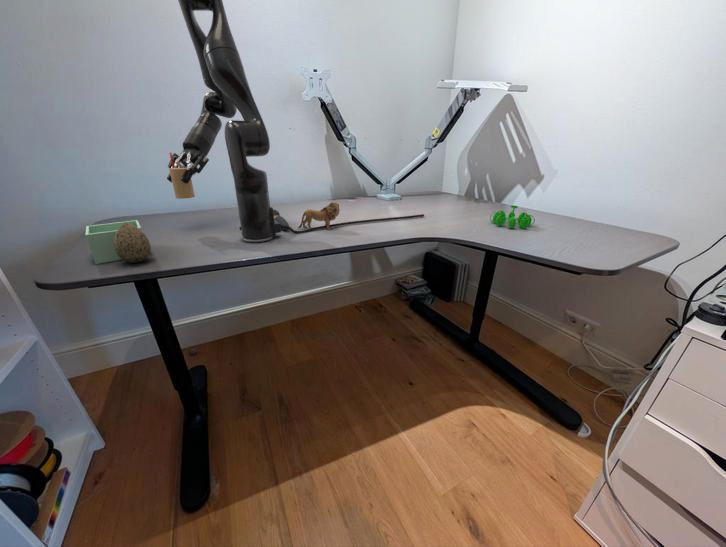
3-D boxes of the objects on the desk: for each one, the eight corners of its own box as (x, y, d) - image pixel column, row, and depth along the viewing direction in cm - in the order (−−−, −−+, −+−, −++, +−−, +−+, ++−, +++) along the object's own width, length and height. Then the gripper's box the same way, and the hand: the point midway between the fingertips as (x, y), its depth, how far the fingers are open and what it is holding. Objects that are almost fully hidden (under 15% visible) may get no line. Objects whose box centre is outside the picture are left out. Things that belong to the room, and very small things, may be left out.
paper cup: (198, 196, 104) (189, 152, 99) (184, 199, 99) (173, 152, 94) (186, 195, 106) (176, 151, 101) (171, 198, 101) (160, 152, 96)
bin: (144, 245, 91) (137, 220, 88) (148, 254, 83) (141, 227, 80) (95, 253, 84) (86, 226, 81) (95, 264, 77) (85, 234, 74)
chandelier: (488, 227, 112) (491, 208, 109) (490, 218, 125) (493, 201, 122) (535, 232, 107) (539, 211, 104) (531, 222, 120) (535, 204, 117)
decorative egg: (116, 269, 74) (103, 228, 70) (123, 259, 80) (111, 221, 76) (152, 264, 77) (141, 225, 73) (155, 255, 83) (145, 218, 79)
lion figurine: (338, 225, 113) (338, 200, 110) (341, 229, 108) (340, 203, 105) (297, 227, 110) (295, 202, 107) (298, 231, 105) (296, 204, 102)
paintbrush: (298, 230, 107) (297, 215, 105) (284, 232, 104) (283, 217, 102) (274, 219, 121) (273, 206, 119) (262, 221, 118) (260, 208, 116)
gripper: (175, 132, 104) (151, 172, 98) (208, 131, 99) (184, 174, 93) (192, 148, 110) (170, 187, 105) (224, 149, 105) (202, 190, 100)
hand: (177, 181), depth 99 cm, fingers closed on paper cup, 5 cm apart
